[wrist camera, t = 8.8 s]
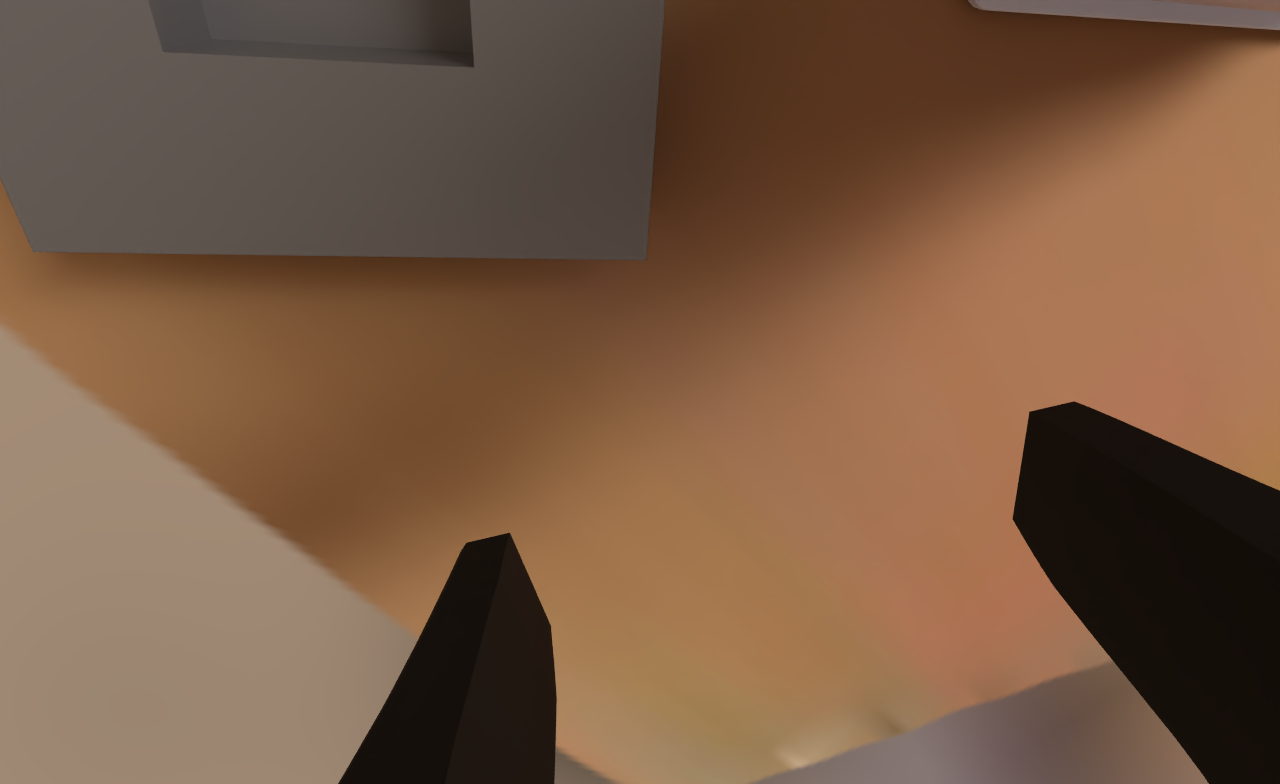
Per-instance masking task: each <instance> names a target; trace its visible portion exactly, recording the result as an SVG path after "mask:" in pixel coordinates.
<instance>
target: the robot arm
mask: <svg viewBox="0 0 1280 784" xmlns="http://www.w3.org/2000/svg"><path fill="white" fill-rule="evenodd" d="M968 1H969V3H970V4H971V5H972V6H973V7H975V8H978V9H981V10H989V11H1004V12H1019V13H1033V14H1048V15H1063V16H1078V17H1093V18H1107V19H1122V20H1137V21H1152V22H1167V23H1181V24H1196V25H1211V26H1226V27H1241V28H1255V29H1270V30H1280V0H968ZM1013 521H1014V522H1015V524H1016V526H1017V527H1018V529H1019V531H1020V532H1021V534H1022V536H1023V538H1024V539H1025V541H1026V543H1027V544H1028V546H1029V548H1030V549H1031V551H1032V553H1033V555H1034V556H1035V558H1036V559H1037V561H1038V562H1039V564H1040V566H1041V567H1042V569H1043V570H1044V572H1045V573H1046V575H1047V577H1048V578H1049V580H1050V581H1051V583H1052V584H1053V586H1054V587H1055V588H1056V590H1057V591H1058V592H1059V593H1060V595H1061V596H1062V597H1063V599H1064V600H1065V601H1066V602H1067V604H1068V605H1069V606H1070V607H1071V609H1072V610H1073V611H1074V613H1075V614H1076V615H1077V616H1078V618H1079V619H1080V620H1081V621H1082V623H1083V624H1084V625H1085V626H1086V628H1087V629H1088V630H1089V631H1090V633H1091V634H1092V635H1093V636H1094V638H1095V639H1096V640H1097V641H1098V643H1099V644H1100V645H1101V646H1102V648H1103V649H1104V650H1105V651H1106V653H1107V654H1108V655H1109V656H1110V657H1111V659H1112V660H1113V661H1114V662H1115V664H1116V665H1117V666H1118V667H1119V669H1120V670H1121V671H1122V672H1123V674H1124V675H1125V676H1126V677H1127V679H1128V680H1129V681H1130V682H1131V683H1132V685H1133V686H1134V687H1135V688H1136V690H1137V691H1138V692H1139V693H1140V695H1141V696H1142V697H1143V698H1144V700H1145V701H1146V702H1147V703H1148V705H1149V706H1150V707H1151V708H1152V710H1153V711H1154V712H1155V713H1156V714H1157V716H1158V717H1159V718H1160V719H1161V721H1162V722H1163V723H1164V724H1165V726H1166V727H1167V728H1168V729H1169V731H1170V732H1171V733H1172V734H1173V736H1174V737H1175V738H1176V739H1177V741H1178V742H1179V743H1180V745H1181V746H1182V747H1183V749H1184V750H1185V751H1186V753H1187V754H1188V755H1189V757H1190V758H1191V759H1192V761H1193V762H1194V763H1195V765H1196V766H1197V767H1198V769H1199V770H1200V771H1201V773H1202V774H1203V776H1204V777H1205V779H1206V780H1207V782H1208V783H1209V784H1280V491H1279V490H1277V489H1274V488H1272V487H1270V486H1267V485H1265V484H1263V483H1260V482H1258V481H1256V480H1253V479H1251V478H1249V477H1247V476H1244V475H1242V474H1240V473H1237V472H1235V471H1233V470H1230V469H1228V468H1226V467H1224V466H1221V465H1219V464H1217V463H1215V462H1212V461H1210V460H1208V459H1206V458H1203V457H1201V456H1199V455H1197V454H1194V453H1192V452H1190V451H1188V450H1185V449H1183V448H1181V447H1179V446H1177V445H1174V444H1172V443H1170V442H1168V441H1165V440H1163V439H1161V438H1159V437H1156V436H1154V435H1152V434H1150V433H1147V432H1145V431H1143V430H1141V429H1138V428H1136V427H1134V426H1132V425H1129V424H1127V423H1125V422H1123V421H1120V420H1118V419H1116V418H1113V417H1111V416H1109V415H1106V414H1104V413H1102V412H1099V411H1097V410H1095V409H1092V408H1090V407H1087V406H1085V405H1082V404H1079V403H1077V402H1070V403H1065V404H1061V405H1057V406H1053V407H1048V408H1044V409H1040V410H1035V411H1031V412H1029V419H1028V425H1027V431H1026V438H1025V444H1024V450H1023V457H1022V463H1021V469H1020V476H1019V482H1018V488H1017V495H1016V501H1015V507H1014V514H1013ZM556 702H557V697H556V683H555V669H554V657H553V646H552V634H551V625H550V623H549V621H548V618H547V616H546V614H545V612H544V609H543V607H542V605H541V602H540V600H539V598H538V596H537V593H536V591H535V589H534V587H533V584H532V582H531V580H530V577H529V575H528V573H527V571H526V568H525V566H524V564H523V562H522V559H521V557H520V555H519V552H518V550H517V548H516V546H515V543H514V541H513V539H512V537H511V534H510V533H507V534H502V535H498V536H494V537H489V538H485V539H481V540H477V541H472V542H468V543H466V544H465V546H464V547H463V549H462V550H461V552H460V554H459V556H458V559H457V561H456V563H455V565H454V567H453V569H452V571H451V573H450V576H449V578H448V580H447V582H446V584H445V586H444V588H443V590H442V592H441V594H440V597H439V599H438V601H437V603H436V605H435V607H434V609H433V611H432V613H431V615H430V617H429V619H428V621H427V623H426V625H425V627H424V629H423V631H422V633H421V635H420V637H419V639H418V641H417V643H416V645H415V647H414V649H413V651H412V653H411V655H410V657H409V659H408V660H407V662H406V665H405V666H404V668H403V670H402V672H401V674H400V676H399V678H398V680H397V681H396V683H395V685H394V687H393V689H392V691H391V693H390V695H389V697H388V699H387V700H386V702H385V704H384V706H383V708H382V710H381V711H380V713H379V715H378V716H377V718H376V720H375V721H374V723H373V725H372V727H371V729H370V730H369V732H368V734H367V735H366V737H365V739H364V740H363V742H362V744H361V746H360V748H359V749H358V751H357V753H356V754H355V756H354V758H353V759H352V761H351V763H350V765H349V767H348V768H347V770H346V772H345V774H344V775H343V777H342V778H341V780H340V782H339V783H338V784H554V775H555V742H556Z"/></svg>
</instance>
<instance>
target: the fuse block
mask: <svg viewBox="0 0 1280 784" xmlns="http://www.w3.org/2000/svg"><path fill="white" fill-rule="evenodd" d="M664 7H665V0H0V179H1V181H2V183H3V186H4V188H5V190H6V192H7V195H8V197H9V199H10V201H11V204H12V206H13V208H14V210H15V212H16V215H17V217H18V219H19V221H20V224H21V226H22V228H23V230H24V233H25V235H26V237H27V239H28V242H29V244H30V246H31V248H32V250H33V252H75V253H147V254H219V255H291V256H363V257H435V258H507V259H579V260H647V246H648V232H649V218H650V204H651V190H652V176H653V162H654V148H655V134H656V120H657V106H658V92H659V78H660V64H661V50H662V36H663V22H664Z"/></svg>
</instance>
